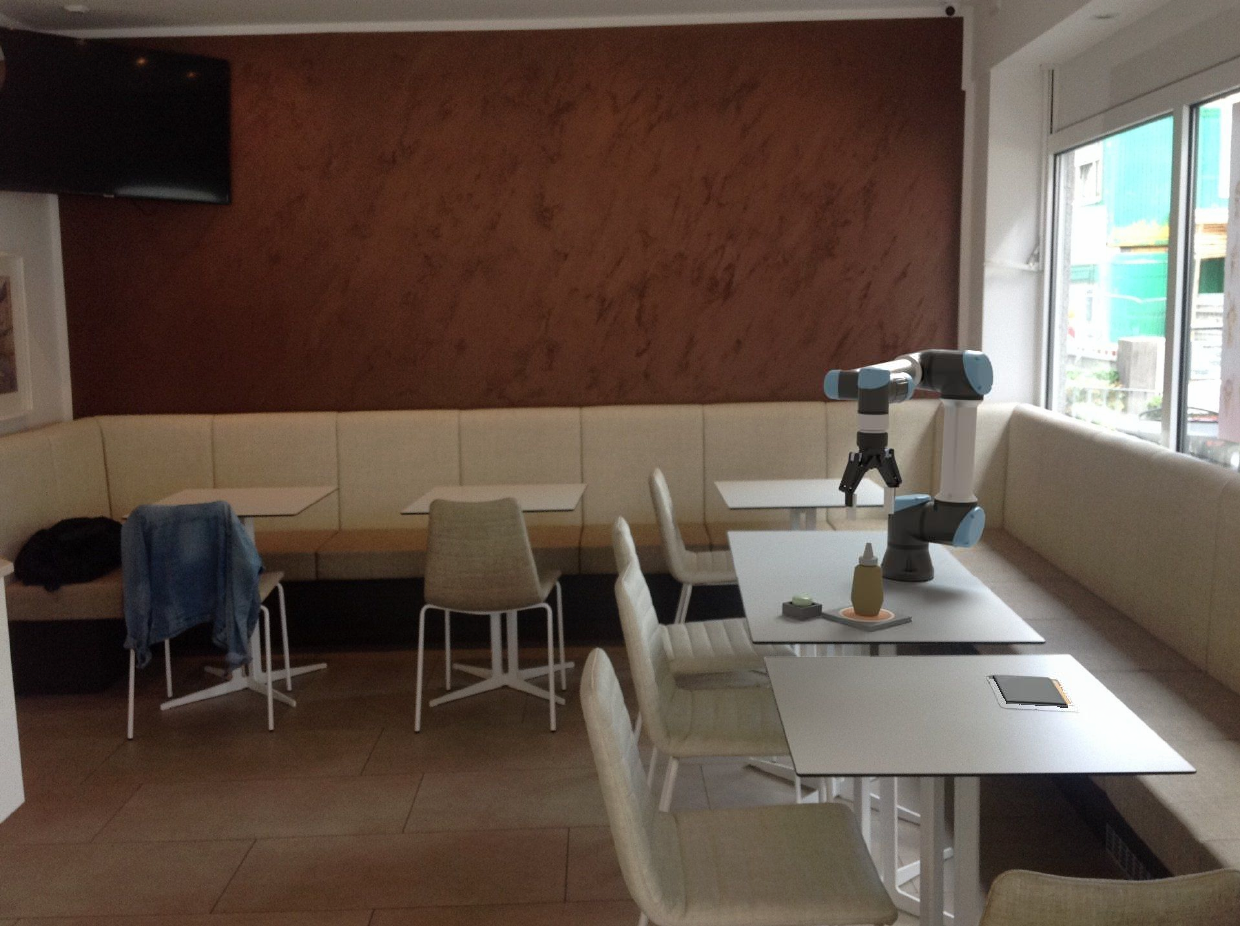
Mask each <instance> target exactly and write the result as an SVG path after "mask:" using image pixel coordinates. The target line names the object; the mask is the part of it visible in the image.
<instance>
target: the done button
mask: <svg viewBox="0 0 1240 926" xmlns="http://www.w3.org/2000/svg"><path fill="white" fill-rule="evenodd" d="M791 597H792V598H791V599H792V600H791V601H792V605H795V606H798V607H801V608H804V607H808V606H812V602H813V596H811V595H807V594H796V595H792V596H791Z"/></svg>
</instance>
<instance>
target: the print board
mask: <svg viewBox="0 0 1240 926" xmlns="http://www.w3.org/2000/svg"><path fill="white" fill-rule="evenodd" d="M821 617H822V618H824V619H828V620H831V621H835V622H837V623H841V624H845V625H848V626H850V627H854V628H857V629H861V630H864V631H868V632H874V631H877V630H882V629H885V628H890V627H893V626H899V625H902V624H906V623H909V622H912V618H913V616H912V615H909V614H905V613H904V614H903V613H900V612H897V611H893V610H890V609H886V608H883V607H881V609H880V612H879V614H878V615H875V616H862V615H858V614H856V613H855V612H854V608H853V605H848V606H847V605H846V606H841V607H839V608H835V609H829V610H826V611H822V616H821Z"/></svg>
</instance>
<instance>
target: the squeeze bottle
mask: <svg viewBox="0 0 1240 926" xmlns="http://www.w3.org/2000/svg"><path fill="white" fill-rule="evenodd" d="M878 564H879V558H878V557H877V556H875V555H874V551H873V546H872V543H871V542H866V544H865V547H864V550H863V555H860V556H859V557H858V564H856V565H855V566H854V571H853V579H852V587H851V593H850V602H851V604H852V605H853V608H854V612H855V613H856V614H858V615H862V616H875V615H878V614H879V612H880V609H881V608H882V606H883V603H884V601H885V599H884V585H883V576H882V569H881V567H880V565H878Z"/></svg>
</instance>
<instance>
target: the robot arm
mask: <svg viewBox="0 0 1240 926" xmlns="http://www.w3.org/2000/svg"><path fill="white" fill-rule="evenodd" d="M993 384H994V369H993V365H992V362H991V360H990V358H989V356H988V355H987V354H986V353H985V352H982V351H979V350H970V349H966V350H965V349H963V350H961V349H937V348H934V349H932V348H931V349H930V348H929V349H924V350H923V349H922V350H919V351H918V350H917V351H914V352H910V353H906V354H902V355H899V356H897V357H895V358H894V360H891V361H887V362H886V361H885V362H881V363H877V364H872V365H867V366H864V367H863V366H862V367H859V368H852V369H849V370H848V369H846V370H843V369H832V370H829V371H828V372H827V373H826V374H825V376H824V381H823V390H824V394H825V395H826V397H828V398H829V399H831V400H832V399H833V400H838V401H841V400H843V401H845V400H846V401H857V411H856V412H857V419H856V421H857V422H856V424H857V425H856V428H857V430H858V431H857V432H856V441H855V442H856V446H857V447H858V452H853V451H850V452H849V453H848V459H847V460H848V461H847V463H846V466H845V469H844V472H843V475H842V476H841V477H842V478H841V480H840V483H839V484H838V485H839V486H838V491H839V492H841V493H844V507H845V520H850V521H853V522H854V521H856V520H857V502H858V499H857V498H858V494H857V493H855V492H856V490H857V488H858V487H859V485H860V484H861V481H862V480H863V478H864V476H865V474H866V473H868V472H869V470H873V469H876V470H877V471H878V473H879V474H880V477H881V478H882V479H883V481H884V483H885V484H886V486H883V509H882V510H883V513H886V514H887V533H886V534H887V535H886V538H887V540H886V549H885V553H884V554H883V558H882V561H881V563H880V565H879V567H881V569H882V578H883V577H884V578H887V579H890V580H896V581H901V582H902V581H903V582H922V581H929V580H931V579H934V577H935V567H934V565H933V562H932V557H931V554H930V549H929V548H930V547H929V546H930V544H937V545H942V546H949V547H953V548H966V549H967V548H968V549H969V548H971V547H973V546H975V545H976V544H977V542H978V541H980V538H981V536H982V533H983V530H984V528H985V524H986V523H985V522H986V514H985V510H984V508H982V507H980V506H978V501H979V499H978V498H977V497H976V496H975V494H974V491H973V487H974V472H975V457H976V455H975V454H976V451H975V450H976V436H977V435H976V434H977V419H978V407H979V406H980V405H981V403H983V402H984V401H985V400H984V397H985V396H986V395H987V394H989V393H990V392H991V390H992V389H993V387H992V386H993ZM915 390H921V391H930V392H937V393H939V400H940V401H941V402H942V403H943V405H944V418H943V435H942V436H943V437H942V453H941V473H940V474H941V475H940V490H939V492H938V493H937V494H936V495H935V496H934V497H933V501H932V497H931V495H930V494H926V493H925V494H921V493H919V494H918V493H917V494H905V495H898V496H896V488H900V485H902V483H903V479H902V476H901V473H900V471H899V467H898V464H897V461H896V458H895V449H894V448H893V447H892V448H890V447H888V445H889V433H888V432H887V431H888V430H889V427H890V425H889V423H890V420H889V419H890V415H889V414H890V413H889V411H890V405H891V404H901V403H903V402H906V401H908V400H909V399H910V398H912V396H913V395H914V393H915Z"/></svg>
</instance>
